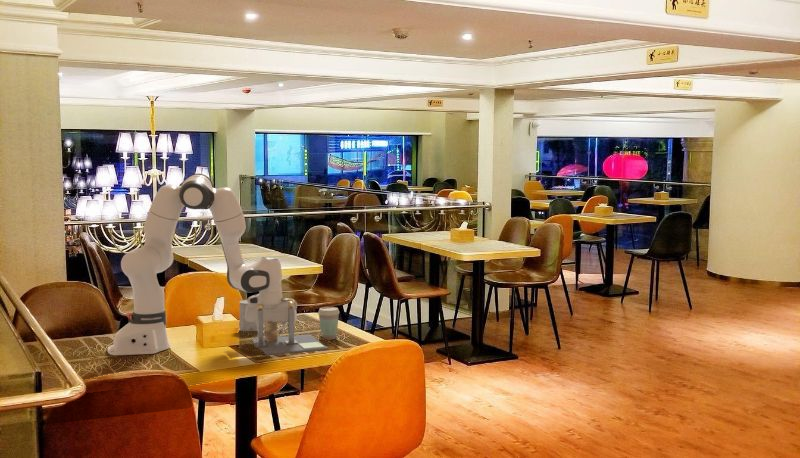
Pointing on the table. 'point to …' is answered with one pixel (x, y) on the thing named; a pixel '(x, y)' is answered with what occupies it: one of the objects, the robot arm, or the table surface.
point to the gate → (290, 326)
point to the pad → (311, 345)
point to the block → (271, 331)
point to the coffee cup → (328, 322)
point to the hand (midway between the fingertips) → (271, 333)
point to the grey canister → (243, 323)
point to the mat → (283, 348)
